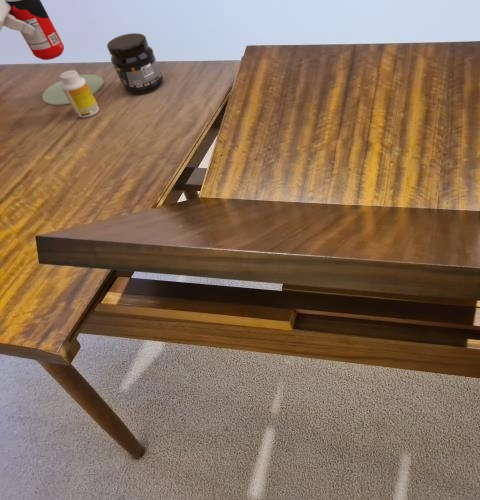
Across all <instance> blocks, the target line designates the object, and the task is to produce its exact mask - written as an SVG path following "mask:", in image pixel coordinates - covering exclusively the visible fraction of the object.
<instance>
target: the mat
mask: <svg viewBox="0 0 480 500" xmlns="http://www.w3.org/2000/svg"><path fill="white" fill-rule="evenodd" d="M78 75H79V77H82V78H84V79H85V81H86V83H87V85H88V87H89V89H90V90H91V92H92V94H93V96H94V95H96V94H97V93H98V92H99V91H100V90H102V88H103V86H104V83H105V82H104V80H103V78H102V77H101V76H99V75H96V74H89V73H88V74H78ZM62 83H63V82H62V80H61V79H60V80H59V81H57V82H54V83H53V84H51V85H50V86H49V87H48V88H46V89H45V90H44V91H43V92H42V96H41V97H42V101H43V102H44V103H45V104H48V105H51V106H66V105H71V103H70V102H69V100H68V98H67V96H66V95H65V93H64V91H63V89H62V87H61V85H62Z"/></svg>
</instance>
